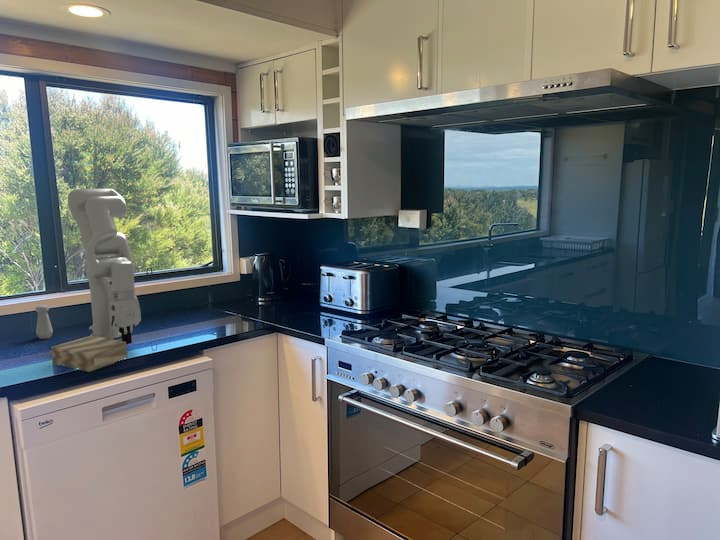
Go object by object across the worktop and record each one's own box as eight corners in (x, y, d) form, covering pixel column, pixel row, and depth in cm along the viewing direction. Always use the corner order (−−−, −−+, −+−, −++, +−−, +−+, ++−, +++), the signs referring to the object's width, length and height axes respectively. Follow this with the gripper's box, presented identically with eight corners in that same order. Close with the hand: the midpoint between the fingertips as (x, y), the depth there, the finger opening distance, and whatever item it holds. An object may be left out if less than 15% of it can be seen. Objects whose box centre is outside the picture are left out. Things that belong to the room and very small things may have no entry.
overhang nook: (53, 363, 181) (51, 346, 180) (92, 351, 194) (91, 335, 193) (88, 371, 173) (87, 354, 172) (127, 358, 186) (126, 341, 185)
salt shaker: (38, 336, 214) (35, 304, 211) (54, 335, 216) (51, 303, 213) (35, 340, 208) (31, 307, 206) (51, 338, 210) (48, 306, 208)
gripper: (113, 300, 186) (116, 350, 189) (147, 292, 199) (150, 339, 202) (98, 297, 189) (102, 347, 192) (133, 289, 202) (136, 336, 205)
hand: (126, 343), depth 197 cm, fingers closed
